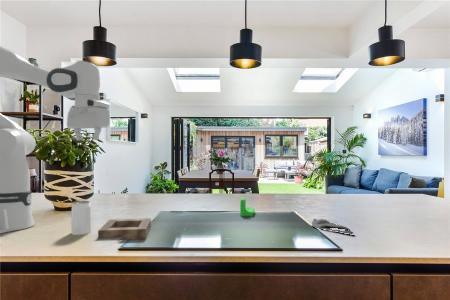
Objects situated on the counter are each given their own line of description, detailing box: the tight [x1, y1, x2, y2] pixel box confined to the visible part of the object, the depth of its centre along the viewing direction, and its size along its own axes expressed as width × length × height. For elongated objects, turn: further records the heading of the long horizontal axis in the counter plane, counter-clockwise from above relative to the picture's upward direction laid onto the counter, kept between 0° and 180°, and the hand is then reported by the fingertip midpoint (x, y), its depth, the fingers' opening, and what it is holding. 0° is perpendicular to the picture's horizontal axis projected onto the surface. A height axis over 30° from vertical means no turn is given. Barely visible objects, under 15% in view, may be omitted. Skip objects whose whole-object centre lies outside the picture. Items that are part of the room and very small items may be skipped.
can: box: [70, 200, 92, 236], centre depth 108 cm, size 6×6×12 cm
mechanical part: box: [239, 197, 255, 217], centre depth 147 cm, size 12×6×8 cm, turn 170°
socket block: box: [97, 217, 152, 241], centre depth 110 cm, size 16×16×4 cm
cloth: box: [311, 218, 352, 234], centre depth 122 cm, size 26×14×2 cm, turn 3°
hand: (87, 140), depth 114 cm, fingers open, 8 cm apart
